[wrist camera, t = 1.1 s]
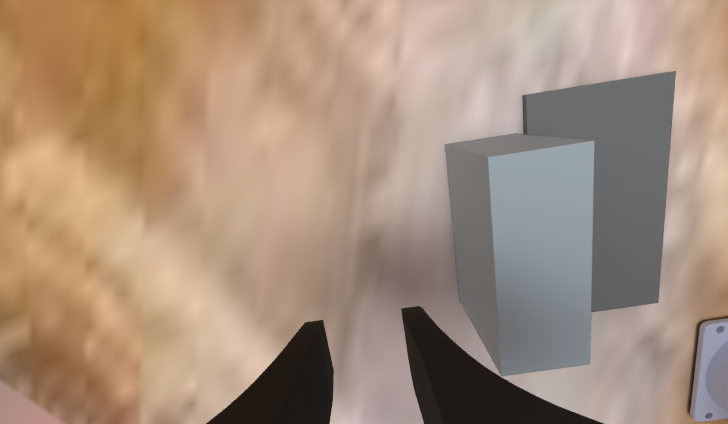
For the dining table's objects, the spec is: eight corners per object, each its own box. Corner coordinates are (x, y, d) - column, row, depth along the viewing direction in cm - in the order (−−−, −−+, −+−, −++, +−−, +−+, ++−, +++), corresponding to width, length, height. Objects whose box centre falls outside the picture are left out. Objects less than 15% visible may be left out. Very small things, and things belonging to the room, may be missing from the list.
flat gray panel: (669, 72, 19) (675, 71, 18) (653, 299, 22) (658, 302, 22) (522, 95, 19) (525, 95, 19) (530, 316, 23) (532, 320, 22)
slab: (514, 133, 20) (594, 140, 13) (520, 290, 22) (590, 364, 16) (444, 144, 20) (488, 157, 13) (458, 298, 22) (501, 376, 16)
